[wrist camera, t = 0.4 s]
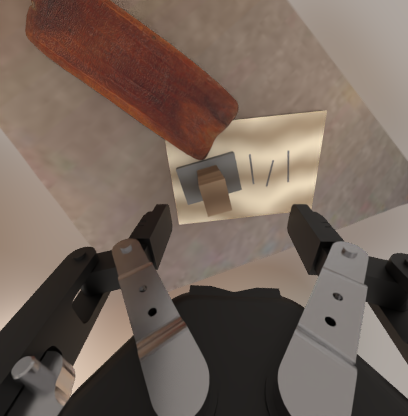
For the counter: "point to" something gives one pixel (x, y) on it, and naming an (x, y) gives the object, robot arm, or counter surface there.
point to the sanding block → (211, 182)
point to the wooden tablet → (133, 70)
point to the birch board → (260, 165)
